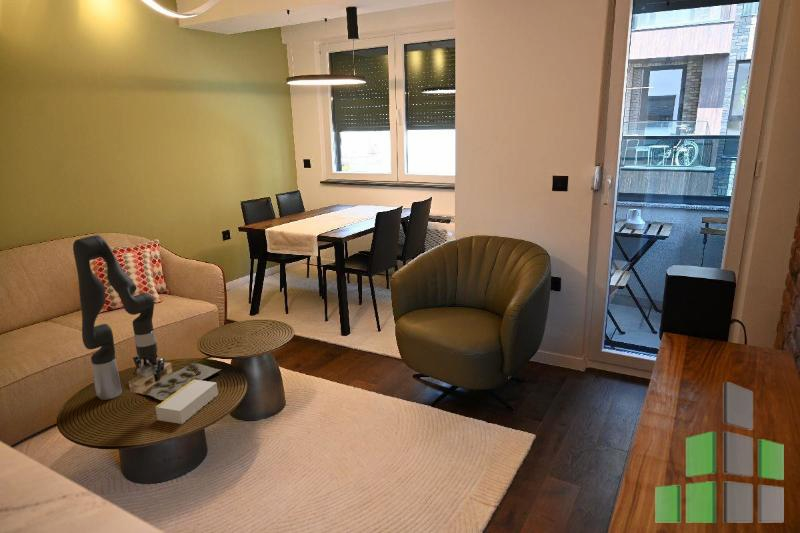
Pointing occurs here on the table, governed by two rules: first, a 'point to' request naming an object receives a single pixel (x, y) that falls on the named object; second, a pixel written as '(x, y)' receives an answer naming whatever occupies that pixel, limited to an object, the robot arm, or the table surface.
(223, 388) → the table surface
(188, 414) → the white rectangular box
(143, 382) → the tan long block
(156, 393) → the stone relief
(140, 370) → the grey block
